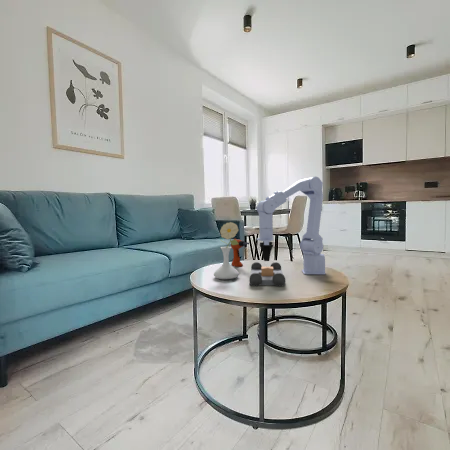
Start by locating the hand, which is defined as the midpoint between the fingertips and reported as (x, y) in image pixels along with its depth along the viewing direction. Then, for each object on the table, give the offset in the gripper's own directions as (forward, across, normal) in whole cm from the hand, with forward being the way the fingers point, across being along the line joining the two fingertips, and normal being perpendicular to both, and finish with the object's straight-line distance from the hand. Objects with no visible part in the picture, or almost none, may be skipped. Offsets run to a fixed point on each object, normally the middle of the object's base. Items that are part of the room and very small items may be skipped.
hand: (266, 259), depth 120 cm
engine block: (+8, 0, 0) cm, 9 cm away
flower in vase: (+9, 0, -17) cm, 19 cm away
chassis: (+8, 0, 0) cm, 8 cm away
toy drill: (+9, -24, -13) cm, 29 cm away
